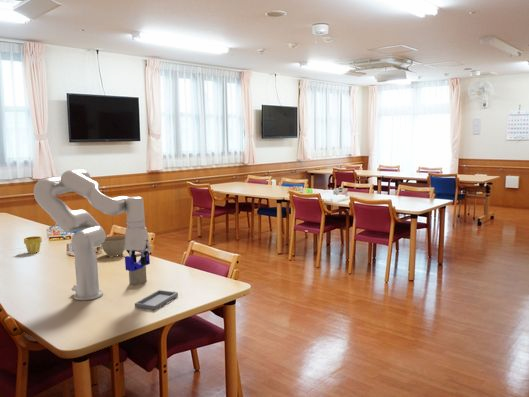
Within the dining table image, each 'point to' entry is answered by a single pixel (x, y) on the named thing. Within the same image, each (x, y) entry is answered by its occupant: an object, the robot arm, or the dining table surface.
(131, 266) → the cable clip
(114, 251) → the planter bowl
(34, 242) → the plant pot
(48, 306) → the dining table surface
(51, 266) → the dining table surface
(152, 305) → the grey rectangular tray
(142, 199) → the robot arm
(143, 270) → the padlock
